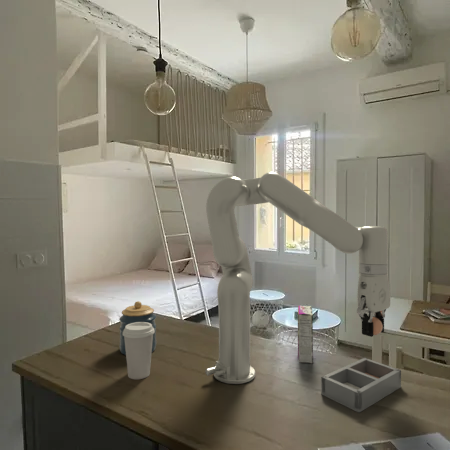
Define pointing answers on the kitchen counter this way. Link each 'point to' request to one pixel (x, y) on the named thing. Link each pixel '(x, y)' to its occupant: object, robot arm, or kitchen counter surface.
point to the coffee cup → (138, 348)
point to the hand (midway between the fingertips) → (373, 332)
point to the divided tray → (361, 383)
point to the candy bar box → (305, 334)
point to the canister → (137, 315)
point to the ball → (377, 326)
